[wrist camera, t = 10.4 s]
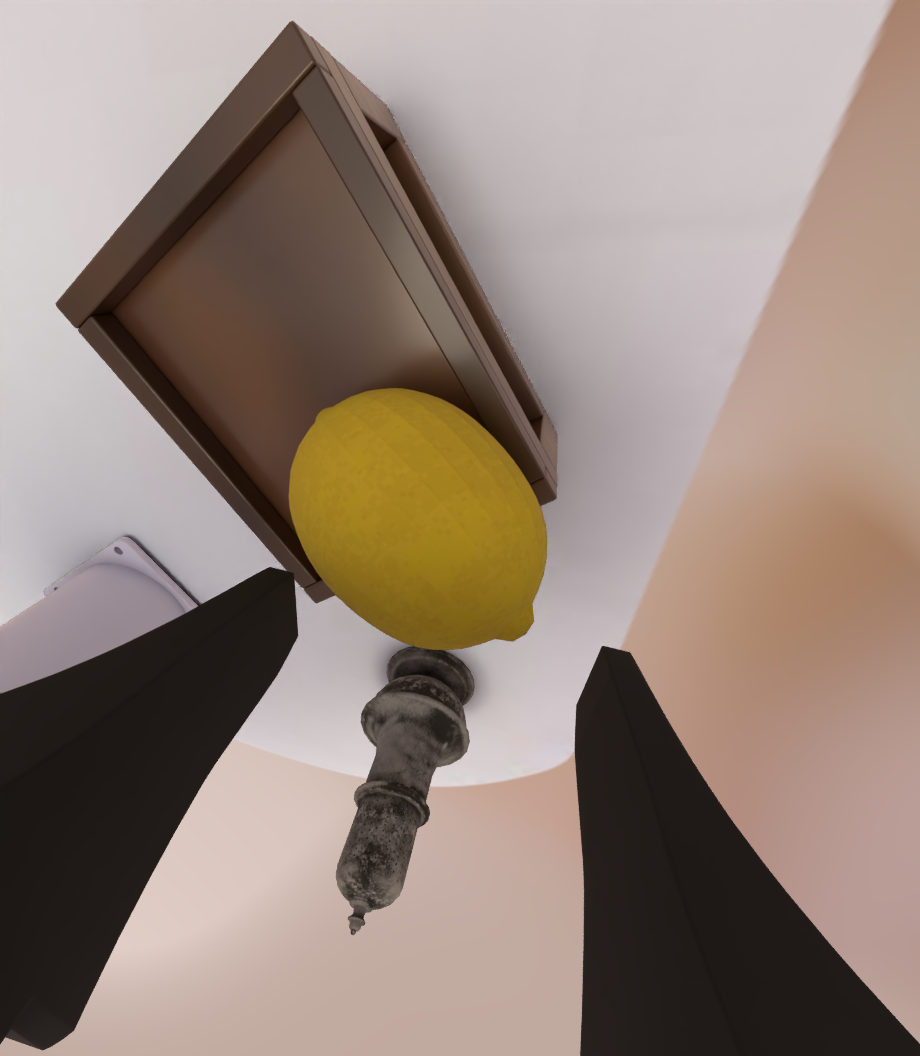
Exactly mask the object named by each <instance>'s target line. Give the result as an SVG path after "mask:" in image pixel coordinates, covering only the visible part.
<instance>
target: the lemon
mask: <svg viewBox="0 0 920 1056" xmlns="http://www.w3.org/2000/svg"><path fill="white" fill-rule="evenodd" d="M289 506H290V512H291V516H292V520H293V523H294V526H295V529H296V532H297V535H298V537H299V540H300V542H301V545H302V547H303V549H304V551H305V553H306V555H307V557H308V559H309V561H310V562H311V564H312V565H313V567H314V569H315V570H316V572H317V573H318V574H319V576H320V577H321V578H322V580H323V581H324V582H325V584H326V585H327V586H328V587H329V588H330V589H331V590H332V591H333V593H334V594H335V595H336V596H337V597H338V598H339V599H340V600H342V601H343V602H344V603H345V604H346V605H347V606H348V607H349V608H350V609H352V610H353V611H354V612H355V613H356V614H358V615H359V616H360V617H361V618H363V619H364V620H366V621H367V622H368V623H370V624H371V625H372V626H374V627H376V628H377V629H379V630H380V631H382V632H383V633H385V634H387V635H389V636H391V637H393V638H395V639H397V640H399V641H401V642H403V643H406V644H409V645H412V646H415V647H419V648H425V649H432V650H454V649H463V648H468V647H472V646H475V645H479V644H482V643H485V642H487V641H490V640H493V639H500V640H506V641H512V642H513V641H515V640H516V639H518V638H520V637H521V636H523V635H525V634H526V633H527V631H528V630H529V628H530V627H531V625H532V624H533V622H534V616H533V605H532V603H533V601H534V599H535V596H536V594H537V592H538V589H539V586H540V583H541V580H542V577H543V574H544V569H545V563H546V556H547V534H546V525H545V521H544V517H543V513H542V510H541V507H540V505H539V503H538V500H537V498H536V496H535V494H534V492H533V490H532V488H531V486H530V485H529V483H528V481H527V480H526V478H525V476H524V475H523V473H522V472H521V470H520V469H519V467H518V466H517V465H516V463H515V462H514V460H513V459H512V458H511V456H510V455H509V454H508V453H507V452H506V450H505V449H504V448H503V447H502V446H501V445H500V444H499V443H498V441H497V440H496V439H495V438H494V437H493V436H492V435H491V434H490V433H489V432H488V431H487V430H486V429H485V428H483V427H482V426H481V425H480V424H479V423H478V422H477V421H476V420H474V419H473V418H472V417H470V416H469V415H468V414H466V413H465V412H464V411H462V410H460V409H459V408H457V407H456V406H454V405H452V404H450V403H448V402H447V401H445V400H443V399H441V398H438V397H435V396H432V395H429V394H426V393H422V392H418V391H414V390H408V389H403V388H387V389H377V390H371V391H365V392H363V393H360V394H357V395H354V396H351V397H349V398H347V399H345V400H344V401H342V402H340V403H338V404H336V405H335V406H333V407H328V408H325V409H323V410H322V411H321V412H320V413H319V414H318V415H317V417H316V420H315V423H314V424H313V425H312V427H311V428H310V429H309V431H308V432H307V434H306V435H305V437H304V438H303V440H302V442H301V443H300V445H299V447H298V449H297V452H296V455H295V458H294V460H293V464H292V467H291V472H290V485H289Z"/></svg>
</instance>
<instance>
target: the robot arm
mask: <svg viewBox="0 0 920 1056" xmlns="http://www.w3.org/2000/svg"><path fill="white" fill-rule="evenodd" d="M44 595H45V596H46V597H44V598H43V599H41V600H40V601H38V602H37V603H35V604H34V605H32V606H31V607H29V608H28V609H26V610H25V611H23V612H22V613H20V614H19V615H17V616H15V617H14V618H12V619H11V620H9V621H8V622H6V623H5V624H3V625H2V626H0V1044H1V1042H2V1041H3V1040H4V1038H5V1037H6V1038H9V1039H12V1040H15V1041H18V1042H21V1043H23V1044H26V1045H29V1046H32V1047H35V1048H38V1049H41V1050H45V1049H47V1048H49V1047H51V1046H53V1045H55V1044H56V1043H58V1042H59V1041H61V1040H62V1039H64V1038H65V1037H66V1036H68V1035H69V1034H70V1033H72V1032H73V1031H74V1029H75V1027H76V1025H77V1023H78V1021H79V1019H80V1017H81V1014H82V1012H83V1010H84V1008H85V1006H86V1004H87V1002H88V1000H89V998H90V996H91V994H92V992H93V989H94V988H95V986H96V983H97V981H98V979H99V977H100V975H101V973H102V971H103V969H104V967H105V965H106V963H107V961H108V959H109V957H110V955H111V953H112V951H113V949H114V946H115V944H116V943H117V940H118V938H119V936H120V935H121V932H122V931H123V929H124V927H125V925H126V923H127V921H128V919H129V917H130V915H131V913H132V911H133V909H134V907H135V905H136V904H137V902H138V900H139V898H140V896H141V894H142V892H143V890H144V888H145V886H146V884H147V883H148V881H149V879H150V877H151V875H152V873H153V871H154V869H155V868H156V866H157V864H158V862H159V860H160V858H161V857H162V855H163V853H164V851H165V849H166V848H167V846H168V844H169V842H170V840H171V838H172V837H173V834H174V833H175V831H176V829H177V828H178V826H179V824H180V822H181V820H182V819H183V817H184V815H185V814H186V812H187V810H188V808H189V807H190V805H191V803H192V801H193V800H194V798H195V796H196V794H197V793H198V791H199V789H200V788H201V786H202V784H203V782H204V781H205V779H206V778H207V776H208V775H209V773H210V771H211V770H212V768H213V767H214V765H215V764H216V762H217V761H218V759H219V758H220V756H221V755H222V753H223V752H224V751H225V749H226V748H227V746H228V745H229V744H230V742H231V741H232V739H233V738H234V736H235V735H236V734H237V732H238V731H239V729H240V728H241V727H242V725H243V724H244V722H245V721H246V719H247V718H248V717H249V715H250V714H251V712H252V711H253V709H254V708H255V707H256V705H257V704H258V702H259V701H260V699H261V698H262V697H263V695H264V694H265V692H266V691H267V689H268V688H269V686H270V685H271V684H272V682H273V681H274V679H275V678H276V676H277V675H278V673H279V671H280V669H281V667H282V666H283V664H284V662H285V660H286V658H287V657H288V655H289V653H290V651H291V649H292V647H293V645H294V643H295V641H296V639H297V637H298V627H297V612H296V597H295V582H294V573H292V572H288V571H284V570H280V569H275V568H271V567H269V568H267V569H265V570H263V571H261V572H259V573H257V574H255V575H254V576H252V577H250V578H248V579H246V580H245V581H243V582H241V583H239V584H237V585H236V586H234V587H232V588H230V589H229V590H227V591H225V592H223V593H221V594H220V595H218V596H216V597H214V598H212V599H211V600H209V601H207V602H205V603H203V604H201V605H199V606H198V605H197V604H196V603H195V602H194V601H193V600H192V599H191V598H190V597H189V596H188V595H187V594H186V593H185V592H184V591H183V590H182V589H181V588H180V587H179V586H178V585H177V584H176V583H175V582H174V581H173V580H172V579H171V578H170V577H169V576H168V575H167V574H166V573H165V572H164V571H163V570H162V569H161V568H160V567H159V566H158V565H157V564H156V563H155V562H154V561H153V560H152V559H151V558H150V557H149V556H148V555H147V554H146V553H145V552H144V551H143V550H142V549H141V548H140V547H139V546H138V545H137V544H136V543H135V542H134V541H133V540H131V539H130V538H128V537H121V538H120V539H118V540H116V541H115V542H113V543H112V544H111V545H109V546H108V547H106V548H105V549H103V550H102V551H100V552H99V553H97V554H96V555H94V556H93V557H92V558H90V559H89V560H87V561H86V562H84V563H83V564H81V565H80V566H78V567H77V568H76V569H74V570H73V571H71V572H70V573H68V574H67V575H65V576H64V577H62V578H61V579H59V580H58V581H57V582H55V583H54V584H52V585H51V586H49V587H48V588H46V589H45V590H44ZM575 762H576V776H577V790H578V802H579V815H580V829H581V842H582V854H583V871H584V951H583V995H582V1025H581V1051H580V1056H920V1044H919V1043H918V1041H917V1040H916V1039H915V1038H914V1037H913V1036H912V1035H911V1034H910V1033H909V1032H908V1031H907V1030H906V1029H905V1028H904V1026H903V1025H902V1024H901V1023H900V1022H899V1021H898V1020H897V1019H896V1018H895V1016H894V1015H892V1013H891V1012H890V1011H889V1010H888V1009H887V1008H886V1007H885V1005H884V1004H883V1003H882V1002H881V1001H880V1000H879V999H878V998H877V997H876V996H875V995H874V993H873V992H872V991H871V990H870V989H869V988H868V987H867V986H866V985H865V983H864V982H862V980H861V979H860V978H859V977H858V976H857V975H856V973H855V972H854V971H853V970H852V969H851V968H850V967H849V965H848V964H847V963H846V962H845V961H844V960H843V959H842V957H840V955H839V954H838V953H837V952H836V951H835V949H834V948H833V947H832V946H831V945H830V944H829V942H828V941H827V940H826V939H825V938H824V936H823V935H822V934H821V933H820V932H819V930H818V929H817V928H816V927H815V926H814V924H813V923H812V922H811V921H810V920H809V918H808V917H807V916H806V915H805V914H804V912H803V911H802V910H801V909H800V908H799V906H798V905H797V904H796V903H795V902H794V900H793V899H792V898H791V897H790V896H789V894H788V893H787V892H786V891H785V889H784V888H783V887H782V886H781V885H780V883H779V882H778V881H777V879H776V878H775V877H774V876H773V874H772V873H771V872H770V871H769V869H768V868H767V867H766V865H765V864H764V863H763V862H762V860H761V859H760V857H759V856H758V855H757V853H756V852H755V851H754V849H753V848H752V847H751V846H750V844H749V843H748V841H747V840H746V839H745V837H744V836H743V835H742V833H741V832H740V831H739V829H738V828H737V827H736V826H735V824H734V823H733V821H732V820H731V818H730V817H729V816H728V814H727V813H726V811H725V810H724V808H723V807H722V805H721V804H720V802H718V800H717V798H716V796H715V795H714V793H713V792H712V790H711V789H710V788H709V786H708V784H707V783H706V781H705V780H704V779H703V777H702V775H701V774H700V772H699V771H698V769H697V767H696V766H695V764H694V763H693V761H692V759H691V758H690V756H689V755H688V753H687V751H686V750H685V748H684V746H683V745H682V743H681V741H680V740H679V738H678V737H677V735H676V733H675V731H674V730H673V728H672V726H671V725H670V723H669V721H668V719H667V718H666V716H665V714H664V713H663V711H662V709H661V707H660V706H659V704H658V702H657V700H656V698H655V696H654V695H653V693H652V691H651V689H650V687H649V686H648V684H647V682H646V680H645V678H644V676H643V675H642V673H641V671H640V669H639V667H638V666H637V664H636V662H635V660H634V658H633V656H632V655H631V653H630V652H626V651H622V650H618V649H614V648H609V647H605V646H602V647H601V650H600V652H599V654H598V657H597V659H596V661H595V664H594V666H593V668H592V671H591V673H590V675H589V677H588V680H587V682H586V684H585V687H584V689H583V691H582V694H581V696H580V698H579V700H578V703H577V705H576V726H575Z"/></svg>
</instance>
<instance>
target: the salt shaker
mask: <svg viewBox="0 0 920 1056" xmlns="http://www.w3.org/2000/svg"><path fill="white" fill-rule="evenodd" d="M387 677H388V681H389V684H387V685H386V686H385V687H384V688H383V689H382V690H381V691H380V692H378V693H377V695H376V697H374V698H373V699H372V700H371V701H369V702H368V703H367V704H366V706H365V707H364V709H363V711H362V713H361V724H362V727H363V731H364V733H365V734H366V736H367V737H368V739H369V740H370V742H371V743H372V744H373V745H374V746H376V747H377V748H376V756H375V759H374V761H373V764H372V767H371V770H370V772H369V775H368V778H367V781H366V783H364V784H362V785H361V786H359V787H358V788H357V790H356V791H355V794H354V800H355V803H356V806H357V807H358V810H357V813H356V816H355V818H354V821H353V824H352V826H351V829H350V832H349V835H348V837H347V840H346V843H345V846H344V848H343V851H342V854H341V857H340V859H339V862H338V865H337V871H336V880H337V885H338V888H339V890H340V891H341V893H342V894H343V896H344V897H345V898H346V899H347V900H348V901H349V902H350V905H351V907H353V908H354V912H353V914H352V915H351V916H349V917H348V920H349V922H350V925H349V928H350V929H351V934H352V935H354V934H355V933H356V931H359V930H360V928H361V926H363V925H365V921H364V919H363V918H364V915H365V913H366V912H371V911H372V910H376V909H381V908H383V907H386V906H389V905H391V904H392V903H393V902H394V901H395V899H397V897H399V895H400V893H401V891H402V888H403V885H404V881H405V877H406V873H407V869H408V865H409V861H410V857H411V853H412V849H413V845H414V840H415V836H416V832H417V828H419V827H420V826H423V825H424V824H425V823H426V822H427V821H428V819H429V815H430V811H429V807H428V805H427V804H426V799H427V795H428V791H429V787H430V783H431V778H432V775H433V773H434V771H435V769H436V767H441V766H445V765H449V764H452V763H454V762H455V761H457V760H459V759H461V757H462V756H463V755H464V754H465V753H466V752H467V749H468V745H469V742H470V741H469V733H468V730H467V728H466V720H465V715H464V710H463V705H464V704H466V703H467V702H468V701H469V700H470V698H471V697H472V694H473V691H474V680H473V677H472V675H471V673H470V671H469V669H468V668H467V667H466V666H465V665H464V664H463V662H461V661H460V660H459V659H457V658H456V657H454V656H453V655H451V654H449V653H447V652H445V651H442V650H432V649H425V648H419V647H411V648H406V649H404V650H402V651H399V652H398V653H397V654H395V655H394V656H393V657H392V658H391V660H390V662H389V664H388V666H387Z"/></svg>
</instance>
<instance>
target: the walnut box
mask: <svg viewBox="0 0 920 1056" xmlns="http://www.w3.org/2000/svg"><path fill="white" fill-rule="evenodd" d="M56 306H57V308H58V309H59V310H60V311H61V312H62V313H63V314H64V316H65V317H66V318H67V319H68V320H69V321H70V322H71V324H72V325H73V326H74V327H75V328H79V329H78V331H79V333H80V334H81V335H82V336H83V337H84V338H85V340H86V341H87V342H88V343H89V344H90V345H91V346H92V348H93V349H94V350H95V351H96V352H97V353H98V354H99V356H100V357H101V358H102V359H103V360H104V361H105V362H106V364H107V365H108V366H109V367H110V368H111V369H112V371H113V372H114V373H115V374H116V375H117V376H118V377H119V379H120V380H121V381H122V382H123V383H124V384H125V385H126V387H127V388H128V389H129V390H130V391H131V392H132V393H133V395H134V396H135V397H136V398H137V399H138V400H139V402H140V403H141V404H142V405H143V406H144V407H145V408H146V410H147V411H148V412H149V413H150V414H151V415H152V416H153V418H154V419H155V420H156V421H157V422H158V423H159V424H160V426H161V427H162V428H163V429H164V430H165V431H166V433H167V434H168V435H169V436H170V437H171V438H172V439H173V441H174V442H175V443H176V444H177V445H178V446H179V447H180V449H181V450H182V451H183V452H184V453H185V454H186V455H187V457H188V458H189V459H190V460H191V461H192V462H193V464H194V465H195V466H196V467H197V468H198V469H199V470H200V472H201V473H202V474H203V475H204V476H205V477H206V478H207V480H208V481H209V482H210V483H211V484H212V485H213V486H214V488H215V489H216V490H217V491H218V492H219V493H220V495H221V496H222V497H223V498H224V499H225V500H226V501H227V503H228V504H229V505H230V506H231V507H232V508H233V509H234V511H235V512H236V513H237V514H238V515H239V516H240V517H241V519H242V520H243V521H244V522H245V523H246V524H247V525H248V527H249V528H250V529H251V530H252V531H253V532H254V534H255V535H256V536H257V537H258V538H259V539H260V540H261V542H262V543H263V544H264V545H265V546H266V547H267V548H268V550H269V551H270V552H271V553H272V554H273V555H274V556H275V558H276V559H277V560H278V561H279V562H280V563H281V565H282V566H283V567H284V568H285V569H286V570H287V571H288V572H292V573H294V579H295V581H296V582H297V583H298V584H299V585H300V586H301V587H302V588H304V587H305V588H304V591H305V592H306V593H307V594H308V595H309V597H310V598H311V599H312V600H313V601H314V602H315V603H319V602H321V601H323V600H326V599H328V598H330V597H332V596H335V594H334V593H333V591H332V590H331V589H330V588H329V587H328V586H327V585H326V584H325V582H324V581H323V580H322V578H321V577H320V576H319V574H318V573H317V572H316V570H315V569H314V567H313V565H312V564H311V562H310V561H309V559H308V557H307V555H306V553H305V551H304V549H303V547H302V545H301V542H300V540H299V537H298V535H297V532H296V529H295V526H294V523H293V520H292V516H291V512H290V506H289V485H290V472H291V467H292V464H293V460H294V458H295V455H296V452H297V449H298V447H299V445H300V443H301V442H302V440H303V438H304V437H305V435H306V434H307V432H308V431H309V429H310V428H311V427H312V425H313V424H314V423H315V420H316V417H317V415H318V414H319V413H320V412H321V411H322V410H323V409H325V408H328V407H333V406H335V405H336V404H338V403H340V402H342V401H344V400H345V399H347V398H349V397H351V396H354V395H357V394H360V393H363V392H365V391H371V390H377V389H387V388H403V389H408V390H414V391H418V392H422V393H426V394H429V395H432V396H435V397H438V398H441V399H443V400H445V401H447V402H448V403H450V404H452V405H454V406H456V407H457V408H459V409H460V410H462V411H464V412H465V413H466V414H468V415H469V416H470V417H472V418H473V419H474V420H476V421H477V422H478V423H479V424H480V425H481V426H482V427H483V428H485V429H486V430H487V431H488V432H489V433H490V434H491V435H492V436H493V437H494V438H495V439H496V440H497V441H498V443H499V444H500V445H501V446H502V447H503V448H504V449H505V450H506V452H507V453H508V454H509V455H510V456H511V458H512V459H513V460H514V462H515V463H516V465H517V466H518V467H519V469H520V470H521V472H522V473H523V475H524V476H525V478H526V480H527V481H528V483H529V485H530V486H531V488H532V490H533V492H534V494H535V496H536V498H537V500H538V503H539V505H540V506H542V505H544V504H546V503H549V502H551V501H553V500H555V499H556V498H557V433H556V431H555V429H554V427H553V425H552V423H551V421H550V419H549V417H548V415H547V413H546V411H545V410H544V408H543V406H542V404H541V402H540V400H539V398H538V396H537V394H536V392H535V390H534V388H533V386H532V384H531V383H530V381H529V379H528V377H527V375H526V373H525V371H524V369H523V367H522V365H521V363H520V361H519V359H518V358H517V356H516V354H515V352H514V350H513V348H512V346H511V344H510V342H509V340H508V338H507V336H506V334H505V333H504V331H503V329H502V327H501V325H500V323H499V321H498V319H497V317H496V315H495V313H494V311H493V309H492V308H491V306H490V304H489V302H488V300H487V298H486V296H485V294H484V292H483V290H482V288H481V286H480V284H479V283H478V281H477V279H476V277H475V275H474V273H473V271H472V269H471V267H470V265H469V263H468V261H467V259H466V258H465V256H464V254H463V252H462V250H461V248H460V246H459V244H458V242H457V240H456V238H455V236H454V234H453V233H452V231H451V229H450V227H449V225H448V223H447V221H446V219H445V217H444V215H443V213H442V211H441V209H440V208H439V206H438V204H437V202H436V200H435V198H434V196H433V194H432V192H431V190H430V188H429V186H428V184H427V183H426V181H425V179H424V177H423V175H422V173H421V171H420V169H419V167H418V165H417V163H416V161H415V159H414V158H413V156H412V154H411V152H410V150H409V148H408V146H407V145H406V144H405V140H404V138H403V137H402V135H401V133H400V131H399V129H398V127H397V125H396V123H395V121H394V119H393V117H392V115H391V113H390V112H389V110H388V108H387V106H386V104H385V103H384V102H383V101H381V100H380V99H379V98H378V97H377V96H376V95H375V94H374V93H373V92H371V91H370V90H369V89H368V88H367V87H366V86H365V85H364V84H363V83H361V82H360V81H359V80H358V79H357V78H356V77H355V76H354V75H353V74H351V73H350V72H349V71H348V70H347V69H346V68H345V67H344V66H343V65H341V64H340V63H339V62H338V61H337V60H336V59H335V58H334V57H333V56H331V54H330V53H329V52H328V51H327V50H326V49H325V48H324V47H322V46H321V45H320V44H319V43H318V42H317V41H316V40H315V39H314V38H312V37H311V36H309V35H308V34H307V33H306V32H305V31H304V30H303V29H302V28H300V27H299V26H298V25H297V24H296V23H295V22H294V21H291V22H289V24H288V25H287V26H286V27H285V28H284V30H283V31H282V32H281V33H280V34H279V36H278V37H277V38H276V39H275V40H274V42H273V43H272V44H271V45H270V46H269V48H268V49H267V50H266V51H265V52H264V54H263V55H262V56H261V57H260V58H259V60H258V61H257V62H256V63H255V64H254V66H253V67H252V68H251V69H250V70H249V72H248V73H247V74H246V75H245V76H244V78H243V79H242V80H241V81H240V82H239V84H238V85H237V86H236V87H235V88H234V90H233V91H232V92H231V93H230V94H229V96H228V97H227V98H226V99H225V100H224V102H223V103H222V104H221V105H220V106H219V108H218V109H217V110H216V111H215V112H214V114H213V115H212V116H211V117H210V118H209V120H208V121H207V122H206V123H205V124H204V126H203V127H202V128H201V129H200V130H199V132H198V133H197V134H196V135H195V137H194V138H193V139H192V140H191V141H190V143H189V144H188V145H187V146H186V147H185V149H184V150H183V151H182V152H181V153H180V155H179V156H178V157H177V158H176V159H175V161H174V162H173V163H172V164H171V165H170V167H169V168H168V169H167V170H166V171H165V173H164V174H163V175H162V176H161V177H160V179H159V180H158V181H157V182H156V183H155V185H154V186H153V187H152V188H151V189H150V191H149V192H148V193H147V194H146V195H145V197H144V198H143V199H142V200H141V201H140V203H139V204H138V205H137V206H136V207H135V209H134V210H133V211H132V212H131V213H130V215H129V216H128V217H127V218H126V219H125V221H124V222H123V223H122V224H121V225H120V227H119V228H118V229H117V230H116V231H115V233H114V234H113V235H112V236H111V237H110V239H109V240H108V241H107V242H106V243H105V245H104V246H103V247H102V248H101V249H100V251H99V252H98V253H97V254H96V256H95V257H94V258H93V259H92V260H91V262H90V263H89V264H88V265H87V266H86V268H85V269H84V270H83V271H82V272H81V274H80V275H79V276H78V277H77V278H76V280H75V281H74V282H73V283H72V284H71V286H70V287H69V288H68V289H67V290H66V292H65V293H64V294H63V295H62V296H61V298H60V299H59V300H58V301H57V302H56Z"/></svg>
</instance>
